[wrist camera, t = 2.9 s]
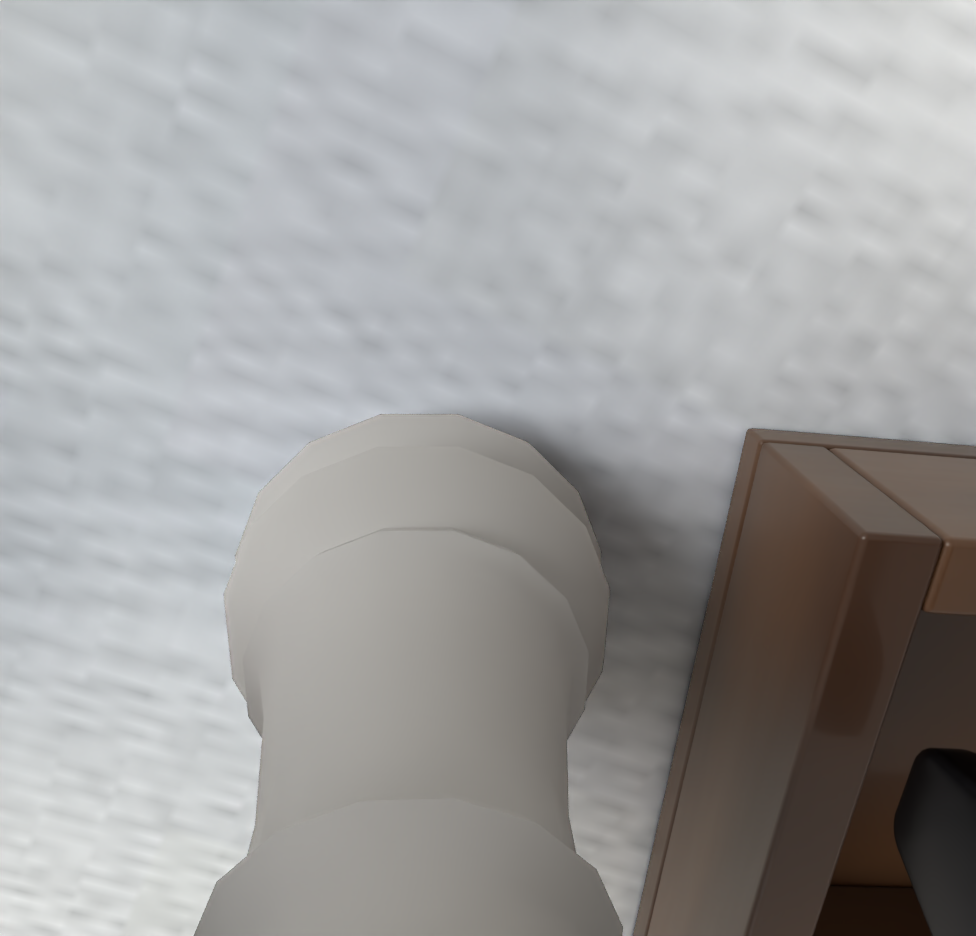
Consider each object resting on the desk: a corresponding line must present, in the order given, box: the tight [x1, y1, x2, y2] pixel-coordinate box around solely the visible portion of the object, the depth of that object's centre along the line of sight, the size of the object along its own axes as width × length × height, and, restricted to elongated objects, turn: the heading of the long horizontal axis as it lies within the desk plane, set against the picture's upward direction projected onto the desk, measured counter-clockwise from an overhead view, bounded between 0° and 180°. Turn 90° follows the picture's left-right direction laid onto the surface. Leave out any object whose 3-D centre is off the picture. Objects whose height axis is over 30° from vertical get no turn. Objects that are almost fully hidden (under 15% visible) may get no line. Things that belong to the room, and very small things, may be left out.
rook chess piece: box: [194, 414, 623, 936], centre depth 7 cm, size 4×4×8 cm
